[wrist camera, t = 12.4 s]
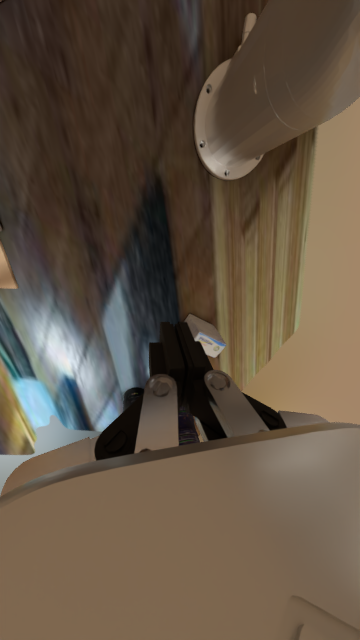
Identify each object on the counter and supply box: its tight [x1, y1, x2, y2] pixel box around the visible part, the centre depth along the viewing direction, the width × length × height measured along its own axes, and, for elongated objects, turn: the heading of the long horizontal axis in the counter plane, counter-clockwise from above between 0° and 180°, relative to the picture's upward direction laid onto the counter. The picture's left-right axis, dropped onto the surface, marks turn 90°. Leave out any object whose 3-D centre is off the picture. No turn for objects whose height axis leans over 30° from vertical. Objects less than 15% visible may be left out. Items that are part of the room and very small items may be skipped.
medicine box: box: [184, 314, 226, 358], centre depth 41 cm, size 8×4×9 cm, turn 57°
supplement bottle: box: [123, 388, 144, 412], centre depth 49 cm, size 7×7×12 cm
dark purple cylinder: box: [178, 403, 200, 446], centre depth 55 cm, size 10×10×15 cm
